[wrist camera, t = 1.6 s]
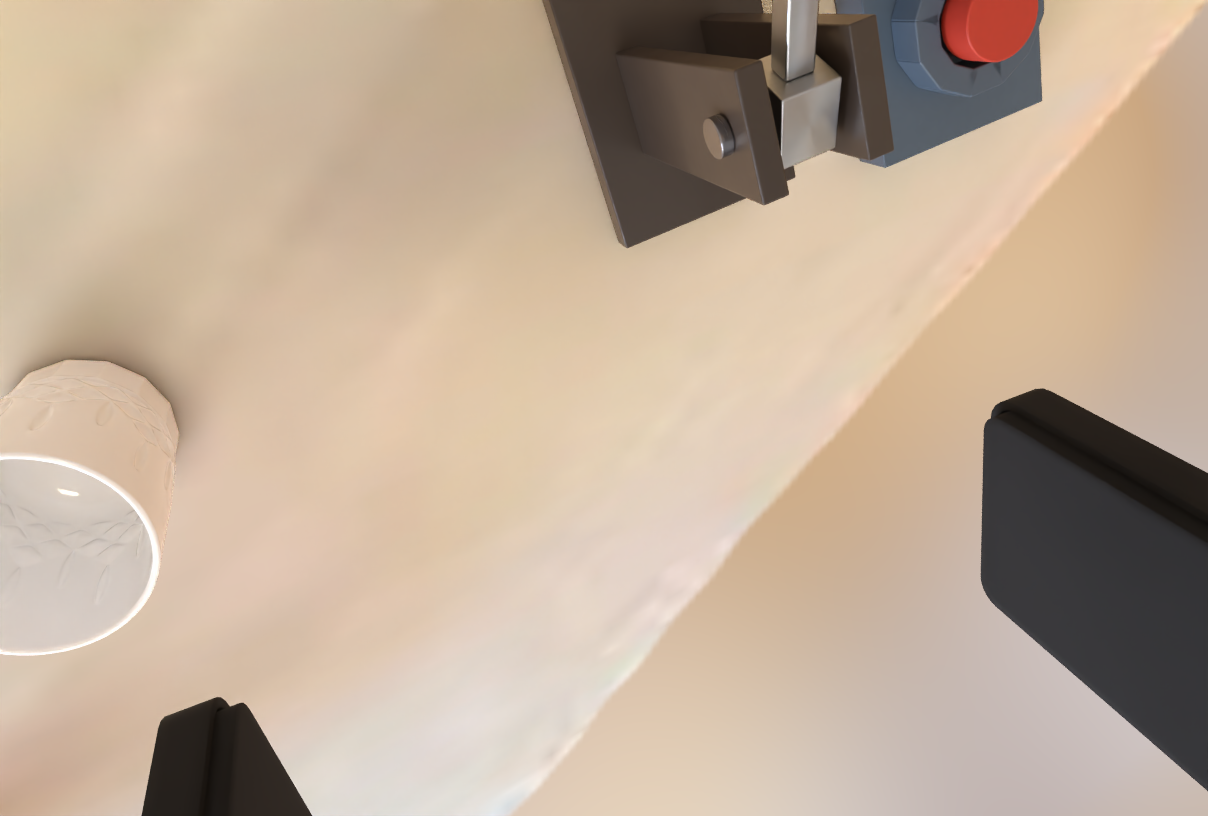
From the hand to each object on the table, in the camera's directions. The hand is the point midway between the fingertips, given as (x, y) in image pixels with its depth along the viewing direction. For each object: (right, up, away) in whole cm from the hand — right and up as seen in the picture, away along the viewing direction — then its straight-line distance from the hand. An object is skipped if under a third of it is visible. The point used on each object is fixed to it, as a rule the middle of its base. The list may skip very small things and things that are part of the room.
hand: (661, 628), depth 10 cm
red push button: (+16, +20, +27) cm, 37 cm away
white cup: (-23, +2, +27) cm, 35 cm away
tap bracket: (+2, +17, +28) cm, 33 cm away
